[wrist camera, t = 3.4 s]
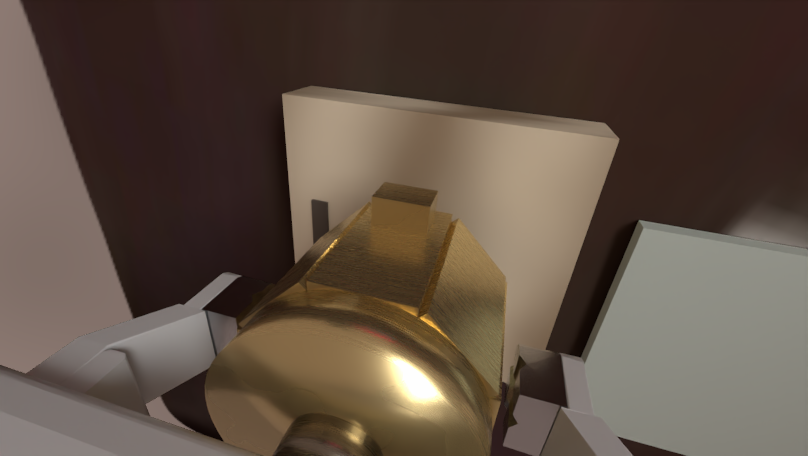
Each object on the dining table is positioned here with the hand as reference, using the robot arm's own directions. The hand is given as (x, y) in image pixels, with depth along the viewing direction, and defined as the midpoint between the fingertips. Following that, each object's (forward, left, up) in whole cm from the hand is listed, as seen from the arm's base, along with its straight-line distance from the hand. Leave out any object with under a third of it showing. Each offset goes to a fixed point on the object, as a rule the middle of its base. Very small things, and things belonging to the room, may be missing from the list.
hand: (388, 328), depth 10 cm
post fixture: (0, 0, -6) cm, 6 cm away
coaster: (-12, +3, -6) cm, 14 cm away
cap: (0, 0, -2) cm, 2 cm away
